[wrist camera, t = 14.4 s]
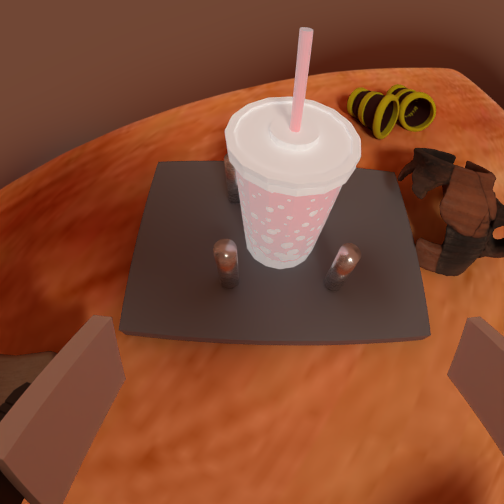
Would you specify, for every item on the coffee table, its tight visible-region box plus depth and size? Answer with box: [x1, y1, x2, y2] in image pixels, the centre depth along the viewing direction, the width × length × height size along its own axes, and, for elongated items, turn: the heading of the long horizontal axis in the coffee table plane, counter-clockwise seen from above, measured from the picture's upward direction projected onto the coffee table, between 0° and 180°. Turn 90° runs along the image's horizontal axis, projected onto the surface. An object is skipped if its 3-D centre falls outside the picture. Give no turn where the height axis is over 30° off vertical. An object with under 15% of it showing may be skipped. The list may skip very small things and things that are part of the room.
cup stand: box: [119, 153, 431, 345], centre depth 20 cm, size 20×14×5 cm
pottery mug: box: [398, 148, 504, 276], centre depth 21 cm, size 12×9×8 cm
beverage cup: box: [225, 27, 361, 269], centre depth 15 cm, size 6×6×14 cm
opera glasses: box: [347, 84, 436, 139], centre depth 28 cm, size 10×5×5 cm, turn 114°
